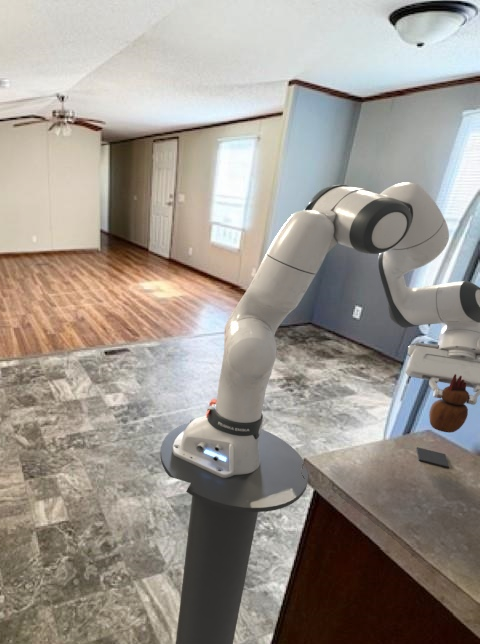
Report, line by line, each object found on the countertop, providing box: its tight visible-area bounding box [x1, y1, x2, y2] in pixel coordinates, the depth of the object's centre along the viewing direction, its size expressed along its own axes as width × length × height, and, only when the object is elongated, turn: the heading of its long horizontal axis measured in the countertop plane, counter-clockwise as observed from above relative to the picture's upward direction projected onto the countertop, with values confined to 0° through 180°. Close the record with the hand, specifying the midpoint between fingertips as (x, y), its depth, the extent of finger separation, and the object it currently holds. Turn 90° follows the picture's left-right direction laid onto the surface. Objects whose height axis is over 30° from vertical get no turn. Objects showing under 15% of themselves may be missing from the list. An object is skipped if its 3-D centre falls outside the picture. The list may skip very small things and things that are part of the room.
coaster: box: [416, 446, 450, 469], centre depth 107 cm, size 6×6×1 cm
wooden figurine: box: [428, 374, 470, 433], centre depth 101 cm, size 7×6×15 cm
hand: (454, 400), depth 100 cm, fingers closed on wooden figurine, 5 cm apart
